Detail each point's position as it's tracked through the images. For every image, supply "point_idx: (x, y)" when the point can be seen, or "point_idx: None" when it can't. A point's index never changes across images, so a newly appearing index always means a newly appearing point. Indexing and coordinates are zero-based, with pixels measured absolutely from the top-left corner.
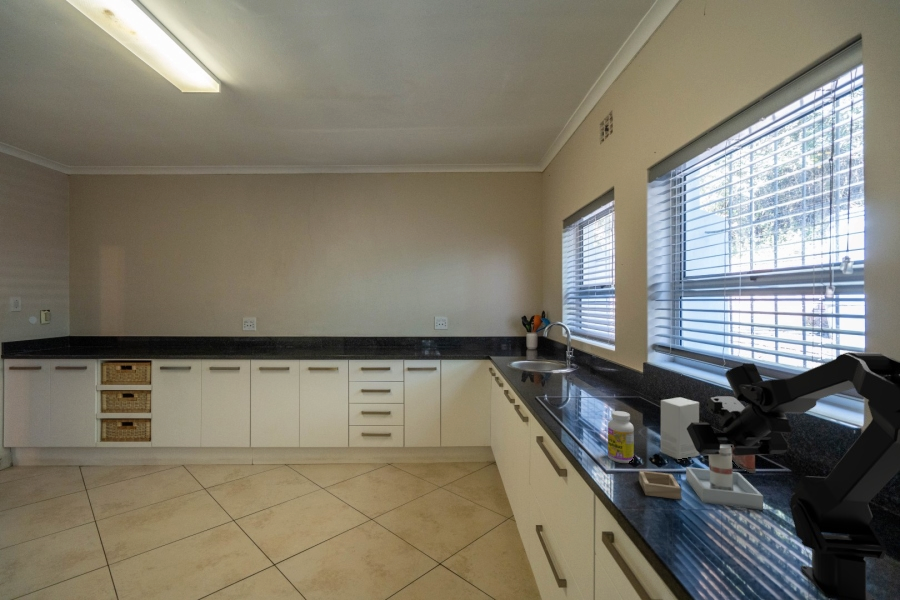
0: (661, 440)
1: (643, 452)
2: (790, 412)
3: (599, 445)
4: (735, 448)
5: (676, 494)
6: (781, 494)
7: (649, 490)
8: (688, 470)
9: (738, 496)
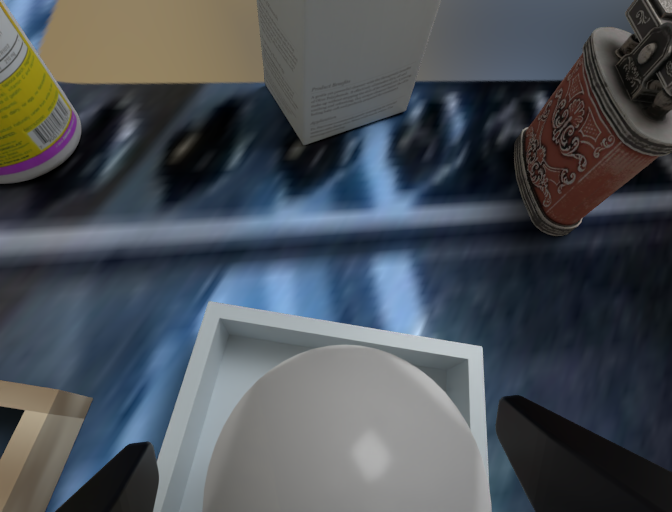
0: (261, 37)
1: (187, 88)
2: None
3: None
4: (545, 442)
5: None
6: (615, 440)
7: None
8: (196, 341)
9: None
